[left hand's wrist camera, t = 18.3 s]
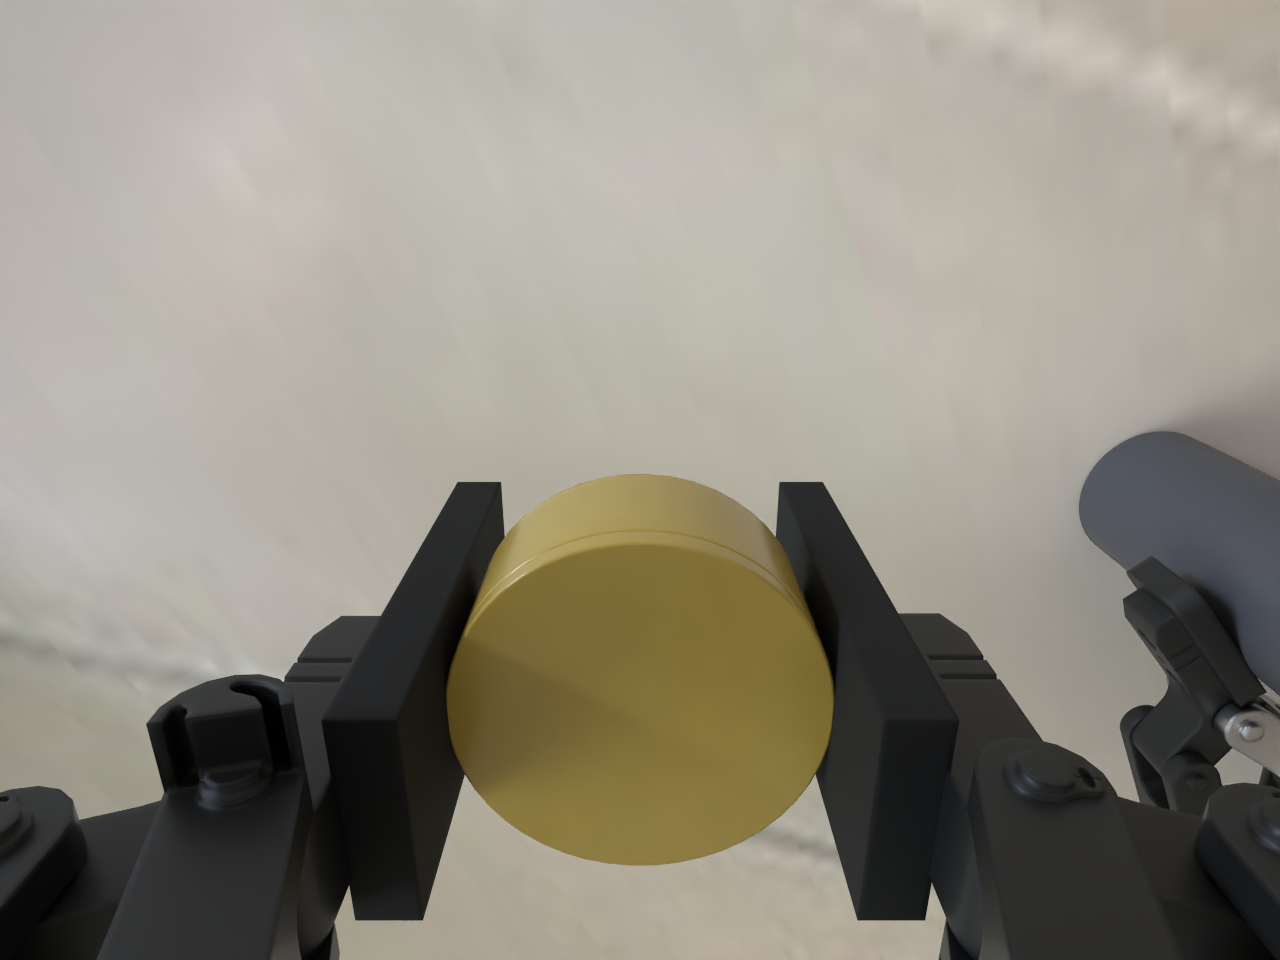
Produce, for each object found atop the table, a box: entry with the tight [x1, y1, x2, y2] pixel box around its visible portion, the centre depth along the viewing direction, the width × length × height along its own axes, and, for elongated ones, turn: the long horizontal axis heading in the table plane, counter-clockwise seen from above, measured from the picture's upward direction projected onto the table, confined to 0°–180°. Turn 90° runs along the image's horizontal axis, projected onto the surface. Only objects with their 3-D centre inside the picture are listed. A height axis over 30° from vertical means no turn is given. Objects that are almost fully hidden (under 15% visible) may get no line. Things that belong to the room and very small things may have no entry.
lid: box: [446, 474, 834, 865], centre depth 11 cm, size 5×5×2 cm
